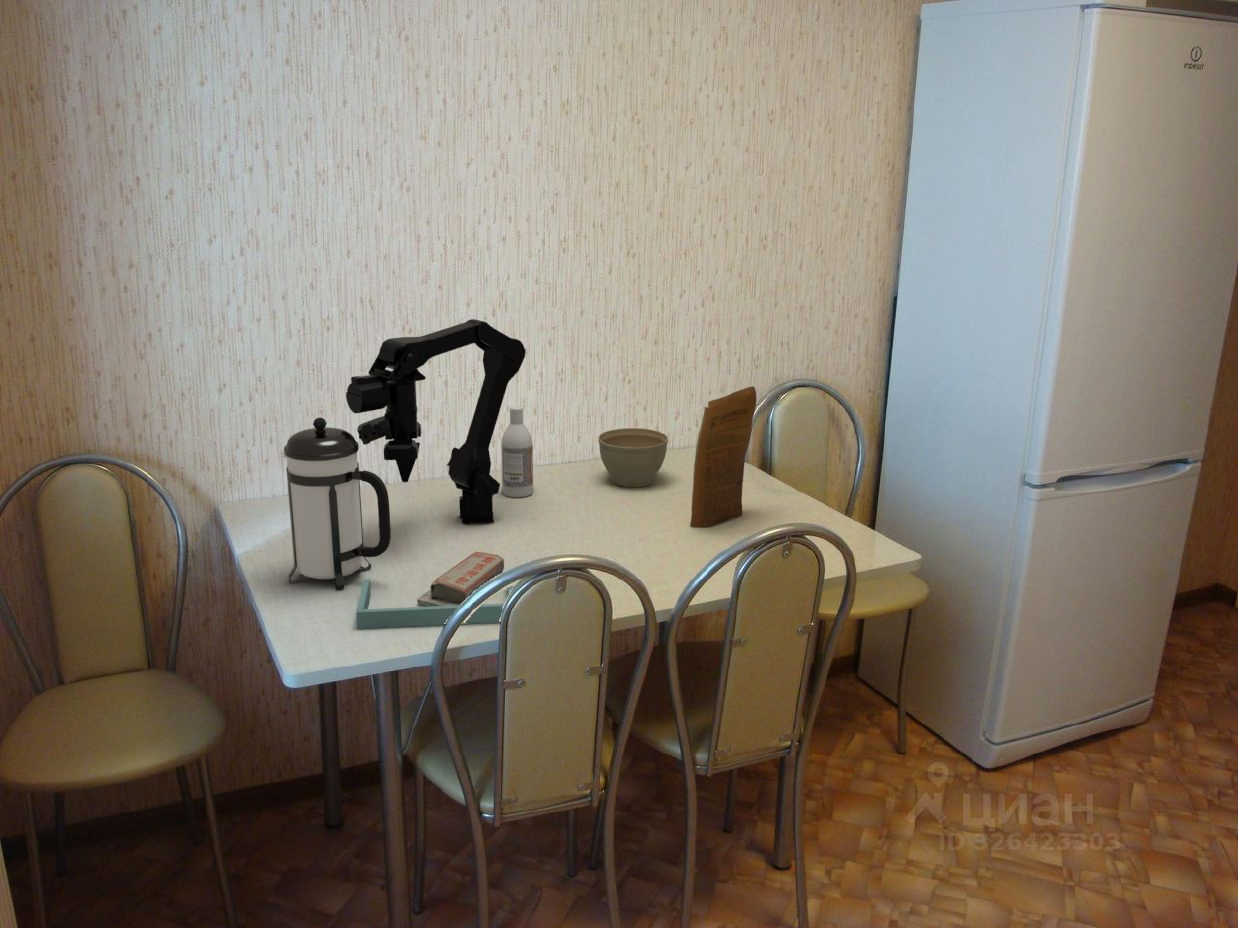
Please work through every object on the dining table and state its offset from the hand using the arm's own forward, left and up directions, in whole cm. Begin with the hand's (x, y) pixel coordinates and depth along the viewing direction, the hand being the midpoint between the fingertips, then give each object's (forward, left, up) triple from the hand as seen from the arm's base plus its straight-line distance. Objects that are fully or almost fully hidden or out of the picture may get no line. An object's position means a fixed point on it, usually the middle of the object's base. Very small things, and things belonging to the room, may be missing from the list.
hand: (405, 481), depth 214 cm
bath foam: (-23, -26, -12) cm, 37 cm away
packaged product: (-12, +27, -13) cm, 32 cm away
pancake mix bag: (-65, -5, -12) cm, 66 cm away
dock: (-7, +33, -12) cm, 36 cm away
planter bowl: (-50, -32, -12) cm, 61 cm away
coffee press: (+12, +18, -12) cm, 24 cm away
